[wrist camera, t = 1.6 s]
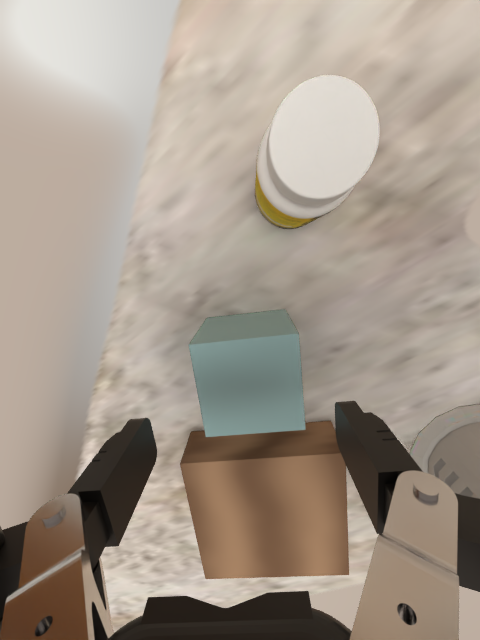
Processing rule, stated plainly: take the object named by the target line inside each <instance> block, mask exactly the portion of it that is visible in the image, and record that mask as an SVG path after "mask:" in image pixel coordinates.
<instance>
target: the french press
mask: <svg viewBox="0 0 480 640" xmlns="http://www.w3.org/2000/svg"><path fill="white" fill-rule="evenodd" d="M410 456H411V457H412V458H413V459H414V461H415V462H416V463H417V465H418V466H419V467H420V468H421V470H422V471H423V472H425V473H428V474H431V475H433V476H435V477H437V478H438V479H440V480H442V481H443V482H444V483H446V484H447V485H448V486H449V487H450V488H451V489H452V491H453V492H454V493H457V494H460V495H464V496H469V497H474V498H479V499H480V404H478V405H470V406H461V407H458V408H456V409H453V410H451V411H449V412H447V413H445V414H442V415H440V416H438V417H436V418H435V419H434V420H433V421H432V422H431V423H429V424H428V425H427V426H426V427H425V428H424V429H423V430H422V431H421V432H420V433H419V434H418V436H417V438H416V440H415V442H414V445H413V447H412V449H411V451H410Z"/></svg>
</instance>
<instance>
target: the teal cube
mask: <svg viewBox="0 0 480 640" xmlns="http://www.w3.org/2000/svg"><path fill="white" fill-rule="evenodd" d="M189 349H190V355H191V360H192V365H193V371H194V376H195V382H196V387H197V392H198V398H199V403H200V408H201V414H202V419H203V425H204V430H205V435H206V437H215V436H229V435H242V434H255V433H269V432H282V431H295V430H306V429H305V415H304V400H303V386H302V372H301V358H300V343H299V333H298V331H297V329H296V328H295V326H294V324H293V322H292V320H291V319H290V317H289V315H288V313H287V312H286V310H285V309H282V310H273V311H264V312H255V313H246V314H237V315H228V316H219V317H209V318H206V320H205V321H204V323H203V324H202V326H201V327H200V329H199V330H198V332H197V333H196V335H195V336H194V338H193V339H192V341H191V342H190V344H189Z"/></svg>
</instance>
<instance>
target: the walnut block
mask: <svg viewBox="0 0 480 640" xmlns="http://www.w3.org/2000/svg"><path fill="white" fill-rule="evenodd" d="M305 429H306V430H295V431H282V432H269V433H255V434H242V435H229V436H215V437H206V435H205V430H204V431H191V434H190V436H189V439H188V442H187V445H186V448H185V451H184V454H183V457H182V460H181V463H180V466H181V470H182V475H183V479H184V484H185V488H186V493H187V497H188V502H189V506H190V511H191V515H192V520H193V524H194V529H195V533H196V538H197V542H198V547H199V551H200V556H201V560H202V565H203V569H204V574H205V578H206V579H222V578H256V577H290V576H324V575H349V558H348V523H347V489H346V464H345V462H344V459H343V457H342V455H341V453H340V450H339V448H338V444H337V439H336V431H335V429H334V427H333V425H332V422H331V421H321V422H308V423H305Z"/></svg>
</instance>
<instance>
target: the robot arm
mask: <svg viewBox="0 0 480 640" xmlns="http://www.w3.org/2000/svg"><path fill="white" fill-rule="evenodd" d="M335 425H336V439H337V444H338V448H339V450H340V453H341V455H342V457H343V459H344V462H345V464H346V466H347V468H348V470H349V473H350V475H351V477H352V479H353V481H354V484H355V486H356V488H357V490H358V493H359V495H360V497H361V499H362V501H363V504H364V506H365V508H366V510H367V512H368V515H369V517H370V519H371V521H372V524H373V526H374V528H375V530H376V532H377V534H379V535H378V538H377V541H376V544H375V548H374V552H373V555H372V559H371V563H370V566H369V570H368V574H367V577H366V581H365V585H364V588H363V592H362V596H361V600H360V603H359V607H358V610H357V614H356V618H355V622H354V625H353V629H352V631H351V630H350V629H348V628H347V627H346V626H345V625H343V624H342V623H341V622H339V621H338V620H336V619H335V618H333V617H332V616H330V615H328V614H326V613H324V612H322V611H320V610H316V609H313V608H311V604H310V598H309V592H308V591H299V592H274V593H266V594H263V595H261V596H258V597H256V598H253V599H250V600H248V601H245V602H243V603H240V604H238V605H235V606H232V607H230V608H221V607H218V606H215V605H212V604H209V603H206V602H203V601H200V600H197V599H194V598H191V597H188V596H172V597H148V600H147V603H146V607H145V610H144V613H143V616H140V617H138V618H136V619H134V620H133V621H131V622H129V623H127V624H126V625H124V626H123V627H122V628H120V629H119V630H117V631H116V632H115V633H114V630H113V626H112V622H111V616H110V610H109V604H108V597H107V591H106V585H105V579H104V572H103V566H102V561H101V558H100V556H101V554H102V552H103V550H104V548H105V547H111V546H119V544H120V542H121V539H122V537H123V535H124V532H125V530H126V528H127V526H128V523H129V521H130V519H131V517H132V514H133V512H134V510H135V508H136V505H137V503H138V501H139V499H140V496H141V494H142V492H143V489H144V487H145V485H146V483H147V480H148V478H149V476H150V474H151V471H152V469H153V467H154V465H155V462H156V457H157V447H156V443H155V439H154V435H153V431H152V426H151V422H150V420H149V419H148V418H141V419H130V420H129V421H128V422H127V423H126V425H125V426H124V428H123V429H122V430H121V432H119V433H116V434H115V435H114V436H112V437H111V438H110V439H109V440H107V441H106V442H105V444H104V445H103V446H102V448H101V449H100V450H99V453H98V454H96V456H95V457H94V458H93V460H92V462H90V464H89V465H88V466H87V468H86V469H85V470H84V472H83V473H82V474H81V476H80V477H79V478H78V480H77V481H76V482H75V484H74V485H73V486H72V488H71V489H70V490H69V492H68V493H67V494H64V495H61V496H58V497H56V498H54V499H52V500H50V501H49V502H47V503H46V504H44V505H43V506H42V507H40V508H39V509H38V510H37V511H36V512H35V513H34V515H33V516H32V517H31V518H30V520H29V521H28V522H25V523H22V524H19V525H16V526H13V527H10V528H7V529H4V530H2V529H1V527H0V640H459V586H462V587H465V588H469V589H472V590H475V591H478V592H480V499H479V498H474V497H469V496H464V495H460V494H457V493H454V492H453V491H452V489H451V488H450V487H449V486H448V485H447V484H446V483H444V482H443V481H442V480H440V479H438V478H437V477H435V476H433V475H431V474H428V473H425V472H423V471H422V470H421V468H420V467H419V466H418V465H417V463H416V462H415V461H414V459H413V458H412V457H411V456H410V454H409V453H408V452H407V451H406V449H405V448H404V447H403V445H402V444H401V443H400V442H399V440H397V438H396V437H395V435H394V434H393V433H392V432H391V431H390V429H389V428H388V426H387V425H386V424H385V423H384V421H383V420H382V419H380V418H379V417H377V416H376V415H374V414H373V413H371V412H370V413H363V411H362V410H361V409H360V407H359V406H358V404H357V403H356V402H355V401H347V402H336V403H335ZM382 533H383V534H382Z"/></svg>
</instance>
